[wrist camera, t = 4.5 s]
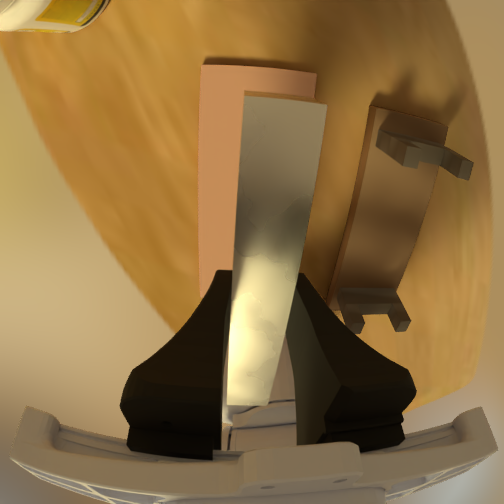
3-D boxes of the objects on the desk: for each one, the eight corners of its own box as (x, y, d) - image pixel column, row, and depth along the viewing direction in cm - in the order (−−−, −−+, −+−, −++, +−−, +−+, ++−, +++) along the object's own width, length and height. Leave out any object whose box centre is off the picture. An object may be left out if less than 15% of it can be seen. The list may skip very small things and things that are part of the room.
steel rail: (265, 373, 19) (267, 405, 17) (227, 372, 19) (226, 405, 17) (310, 97, 10) (327, 105, 8) (244, 90, 10) (244, 95, 8)
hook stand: (384, 301, 28) (403, 342, 23) (325, 301, 27) (338, 346, 23) (439, 123, 18) (483, 143, 14) (369, 105, 18) (406, 119, 14)
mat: (201, 292, 26) (200, 297, 26) (202, 64, 17) (201, 64, 16) (282, 296, 27) (283, 300, 26) (314, 73, 17) (316, 73, 17)
